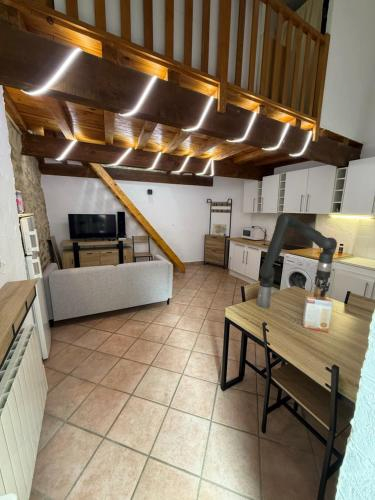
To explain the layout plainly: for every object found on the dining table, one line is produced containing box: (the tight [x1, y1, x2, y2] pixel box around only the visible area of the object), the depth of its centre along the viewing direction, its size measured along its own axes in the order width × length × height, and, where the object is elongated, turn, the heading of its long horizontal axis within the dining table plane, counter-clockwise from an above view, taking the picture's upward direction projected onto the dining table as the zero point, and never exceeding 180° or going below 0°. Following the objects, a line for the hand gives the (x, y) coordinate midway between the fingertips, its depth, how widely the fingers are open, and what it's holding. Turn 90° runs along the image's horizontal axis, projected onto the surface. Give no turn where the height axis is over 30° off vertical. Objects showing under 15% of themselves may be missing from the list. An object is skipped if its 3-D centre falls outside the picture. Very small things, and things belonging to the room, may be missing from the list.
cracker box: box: [302, 295, 334, 333], centre depth 131 cm, size 14×6×21 cm, turn 68°
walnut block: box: [313, 285, 328, 300], centre depth 129 cm, size 5×5×7 cm
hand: (319, 294), depth 129 cm, fingers open, 6 cm apart
